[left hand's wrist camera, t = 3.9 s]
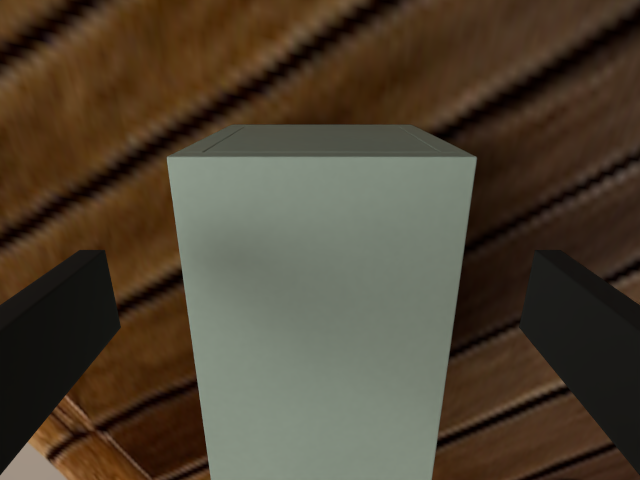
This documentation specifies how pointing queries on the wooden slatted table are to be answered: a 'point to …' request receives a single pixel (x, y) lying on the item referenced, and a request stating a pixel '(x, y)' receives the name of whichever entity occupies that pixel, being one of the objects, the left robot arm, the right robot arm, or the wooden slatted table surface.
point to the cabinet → (321, 295)
